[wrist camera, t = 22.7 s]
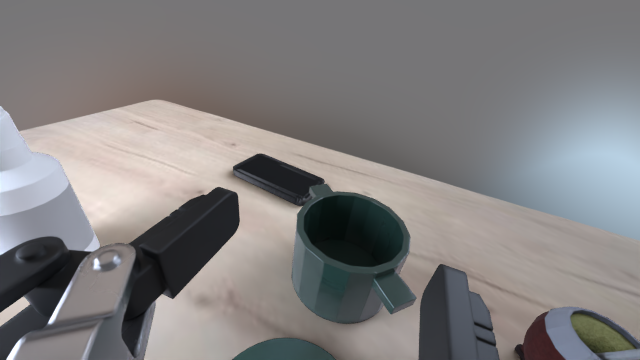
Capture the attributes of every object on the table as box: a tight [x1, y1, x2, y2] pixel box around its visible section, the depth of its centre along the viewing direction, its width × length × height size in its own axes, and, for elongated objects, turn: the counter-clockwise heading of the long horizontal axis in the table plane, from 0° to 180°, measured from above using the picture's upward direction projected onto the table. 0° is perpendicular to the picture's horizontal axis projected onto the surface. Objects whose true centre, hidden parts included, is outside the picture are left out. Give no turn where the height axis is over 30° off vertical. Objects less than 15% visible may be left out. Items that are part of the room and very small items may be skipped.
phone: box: [233, 154, 325, 206], centre depth 45 cm, size 8×1×15 cm
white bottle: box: [0, 106, 100, 255], centre depth 23 cm, size 7×7×18 cm
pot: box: [292, 184, 416, 324], centre depth 28 cm, size 11×17×8 cm
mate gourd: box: [515, 307, 640, 360], centre depth 19 cm, size 8×8×15 cm
